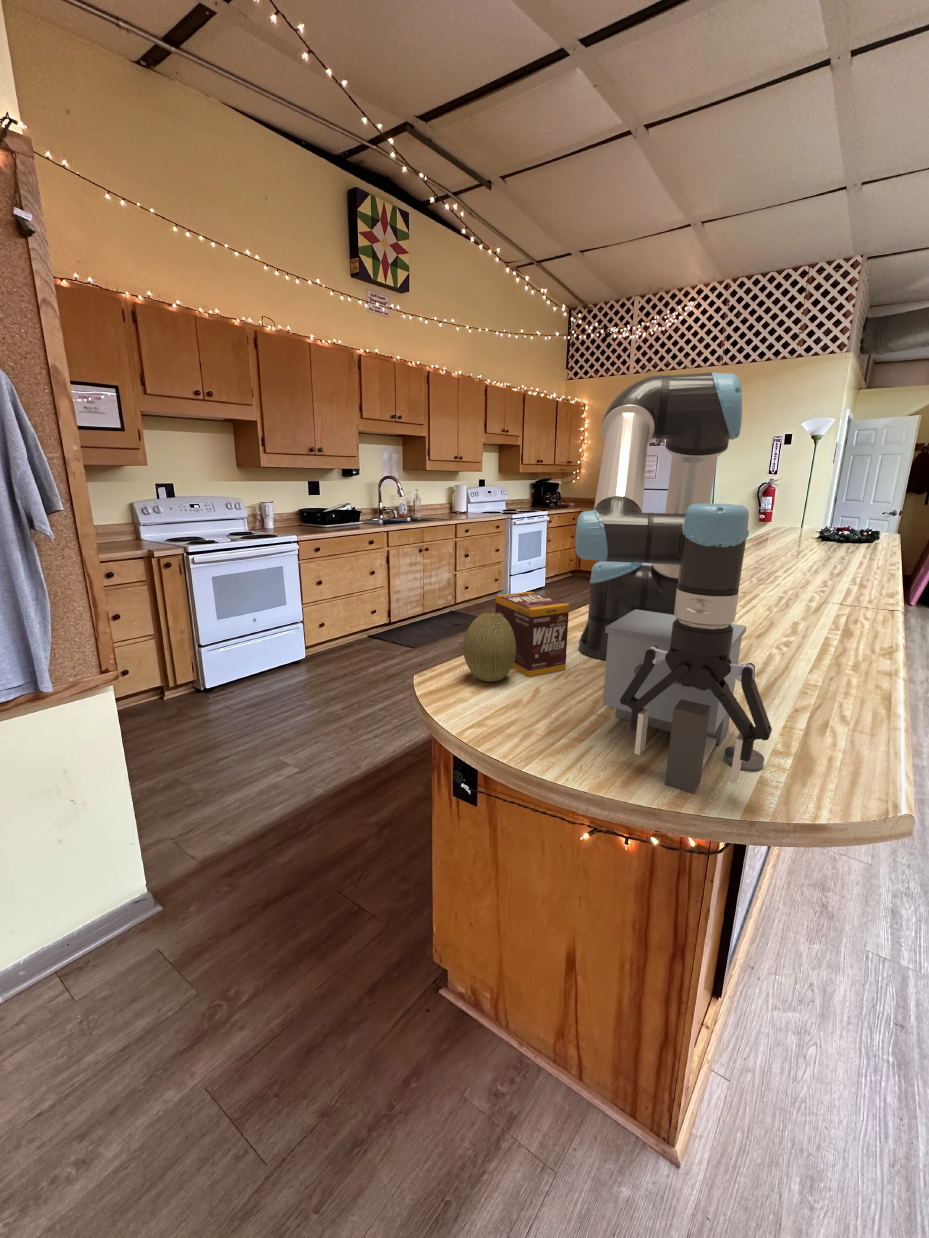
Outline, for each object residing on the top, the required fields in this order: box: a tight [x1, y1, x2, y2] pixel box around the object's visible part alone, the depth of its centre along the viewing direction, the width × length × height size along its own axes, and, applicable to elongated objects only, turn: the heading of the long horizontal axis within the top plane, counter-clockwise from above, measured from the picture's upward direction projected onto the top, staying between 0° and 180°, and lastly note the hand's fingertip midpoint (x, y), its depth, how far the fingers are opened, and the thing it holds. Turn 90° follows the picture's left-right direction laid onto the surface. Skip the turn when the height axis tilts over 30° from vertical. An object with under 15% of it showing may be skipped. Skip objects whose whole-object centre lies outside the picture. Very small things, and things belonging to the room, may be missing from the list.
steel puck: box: [723, 745, 765, 772], centre depth 85 cm, size 6×6×2 cm
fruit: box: [462, 612, 516, 683], centre depth 116 cm, size 11×11×15 cm
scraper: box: [664, 699, 716, 795], centre depth 83 cm, size 4×17×12 cm, turn 145°
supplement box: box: [494, 591, 570, 678], centre depth 126 cm, size 10×15×16 cm
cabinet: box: [602, 609, 747, 746], centre depth 92 cm, size 19×16×19 cm
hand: (684, 764), depth 79 cm, fingers open, 12 cm apart
